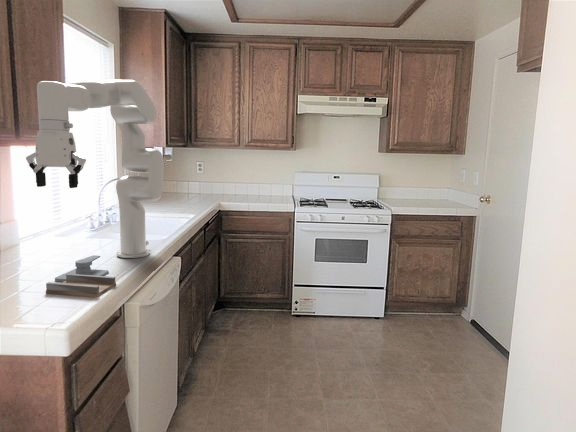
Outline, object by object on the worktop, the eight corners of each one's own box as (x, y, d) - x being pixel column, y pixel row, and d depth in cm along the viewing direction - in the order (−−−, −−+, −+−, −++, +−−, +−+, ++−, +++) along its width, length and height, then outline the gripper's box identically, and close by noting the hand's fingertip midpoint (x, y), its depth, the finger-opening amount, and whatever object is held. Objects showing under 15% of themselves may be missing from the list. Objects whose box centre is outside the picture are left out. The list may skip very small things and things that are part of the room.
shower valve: (113, 255, 151) (88, 267, 137) (113, 271, 152) (89, 283, 137) (80, 253, 153) (52, 264, 138) (81, 268, 154) (53, 281, 139)
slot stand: (69, 282, 138) (68, 273, 138) (116, 285, 136) (115, 276, 136) (45, 293, 127) (45, 283, 127) (96, 297, 126) (96, 287, 125)
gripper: (90, 128, 125) (92, 187, 128) (33, 126, 127) (37, 184, 129) (76, 127, 118) (78, 189, 121) (16, 125, 119) (20, 187, 122)
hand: (57, 187), depth 125 cm, fingers open, 9 cm apart
